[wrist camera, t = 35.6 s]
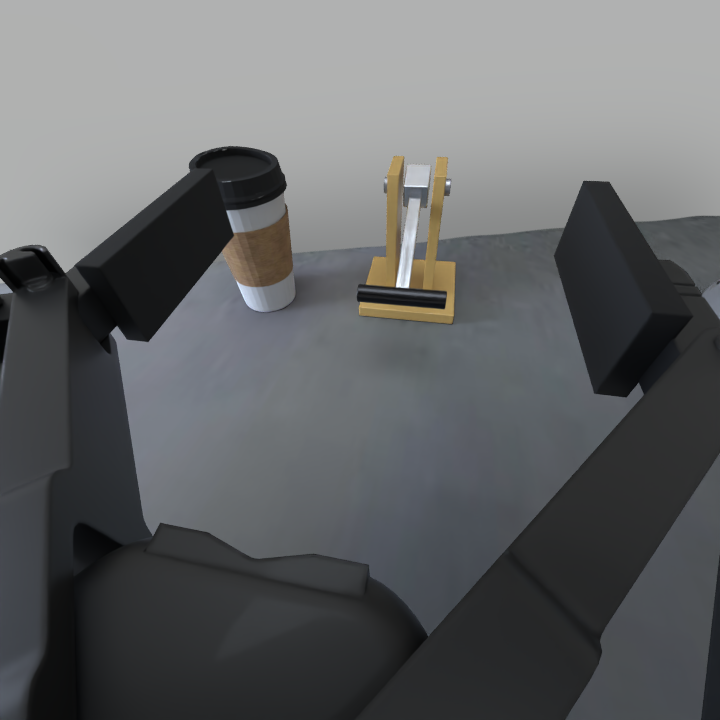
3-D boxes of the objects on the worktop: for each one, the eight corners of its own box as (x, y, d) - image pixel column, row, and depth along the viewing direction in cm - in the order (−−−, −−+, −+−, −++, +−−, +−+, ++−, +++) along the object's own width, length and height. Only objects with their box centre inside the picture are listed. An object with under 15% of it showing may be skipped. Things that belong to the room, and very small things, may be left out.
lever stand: (452, 324, 39) (478, 192, 28) (359, 315, 40) (352, 187, 30) (454, 270, 45) (475, 146, 35) (374, 264, 47) (372, 144, 37)
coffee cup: (263, 269, 47) (227, 138, 36) (319, 285, 44) (299, 148, 33) (219, 307, 42) (161, 169, 31) (279, 328, 39) (240, 185, 28)
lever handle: (443, 315, 30) (446, 299, 27) (358, 308, 31) (355, 292, 29) (455, 187, 35) (458, 165, 33) (382, 184, 36) (381, 162, 34)
